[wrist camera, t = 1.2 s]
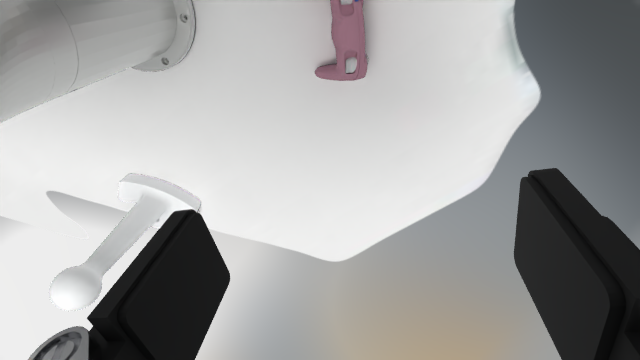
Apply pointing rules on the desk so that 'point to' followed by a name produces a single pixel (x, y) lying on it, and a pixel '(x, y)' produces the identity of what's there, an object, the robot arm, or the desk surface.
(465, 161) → the desk surface
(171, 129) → the desk surface
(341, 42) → the video game controller
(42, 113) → the desk surface
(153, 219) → the joystick
